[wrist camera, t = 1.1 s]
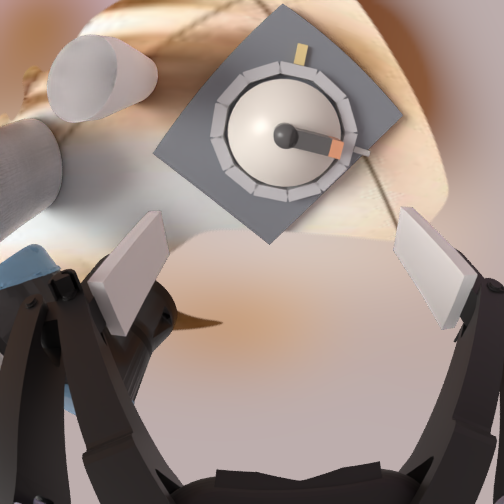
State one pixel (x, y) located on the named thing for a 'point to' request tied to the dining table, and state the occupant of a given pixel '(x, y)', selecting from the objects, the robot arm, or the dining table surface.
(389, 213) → the dining table surface
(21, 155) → the planter
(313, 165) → the dial
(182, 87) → the dining table surface
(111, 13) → the dining table surface
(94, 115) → the cup
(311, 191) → the panel
